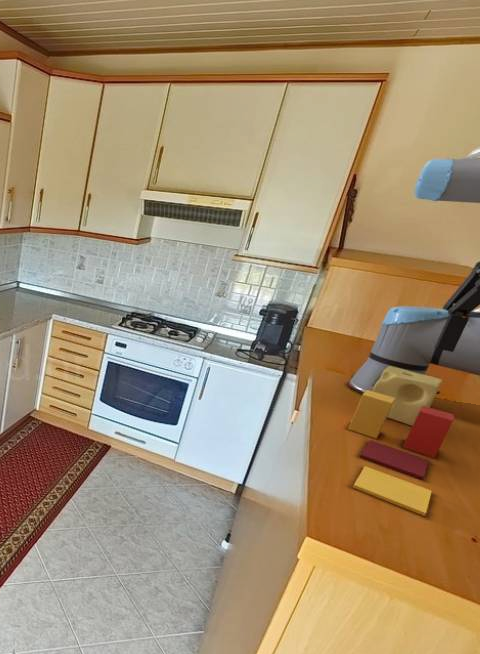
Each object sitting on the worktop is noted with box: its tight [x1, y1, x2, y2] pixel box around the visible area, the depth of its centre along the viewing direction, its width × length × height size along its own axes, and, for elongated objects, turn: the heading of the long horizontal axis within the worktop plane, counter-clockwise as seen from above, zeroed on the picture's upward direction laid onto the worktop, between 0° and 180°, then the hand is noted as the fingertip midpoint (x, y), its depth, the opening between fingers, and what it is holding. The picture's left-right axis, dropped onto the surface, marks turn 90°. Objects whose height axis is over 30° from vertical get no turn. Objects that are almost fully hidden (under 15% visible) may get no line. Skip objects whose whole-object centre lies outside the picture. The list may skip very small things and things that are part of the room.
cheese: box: [373, 366, 443, 427], centre depth 112 cm, size 10×11×10 cm
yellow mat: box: [352, 465, 433, 517], centre depth 79 cm, size 10×9×1 cm
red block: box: [402, 406, 455, 459], centre depth 95 cm, size 5×5×8 cm
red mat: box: [359, 439, 430, 480], centre depth 90 cm, size 10×9×1 cm
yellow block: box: [347, 390, 395, 439], centre depth 101 cm, size 5×5×8 cm
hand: (468, 357), depth 86 cm, fingers open, 13 cm apart
